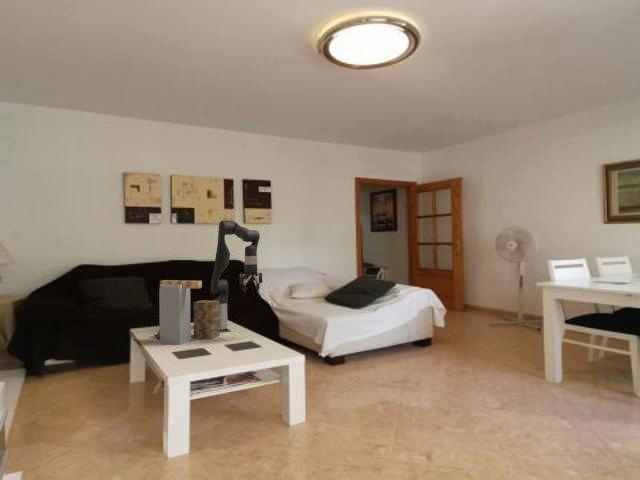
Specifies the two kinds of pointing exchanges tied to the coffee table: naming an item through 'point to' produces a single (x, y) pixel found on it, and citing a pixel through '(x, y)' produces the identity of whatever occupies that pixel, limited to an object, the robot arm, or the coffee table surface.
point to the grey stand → (174, 314)
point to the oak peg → (183, 283)
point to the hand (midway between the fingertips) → (251, 290)
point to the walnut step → (206, 319)
